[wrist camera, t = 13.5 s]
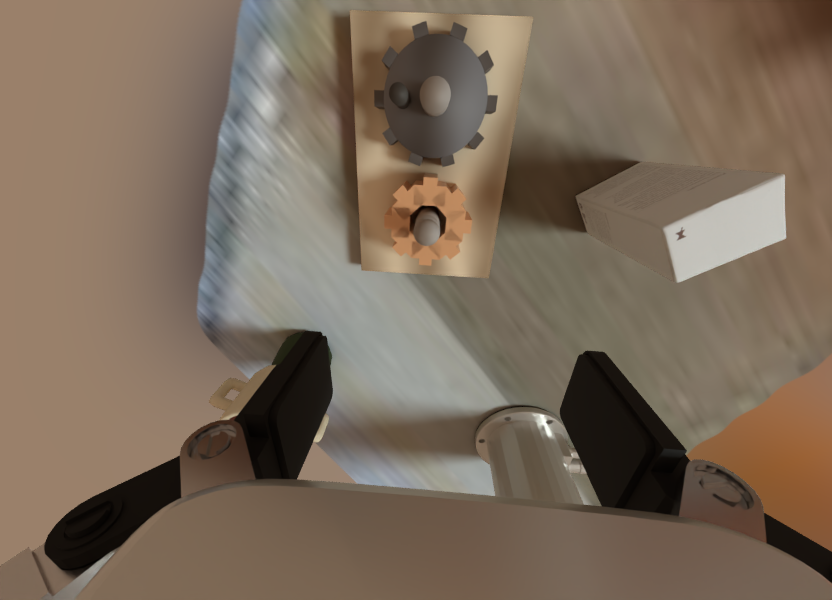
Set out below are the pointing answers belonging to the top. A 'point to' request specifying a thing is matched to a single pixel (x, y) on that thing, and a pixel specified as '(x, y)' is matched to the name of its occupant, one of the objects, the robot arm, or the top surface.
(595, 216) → the skincare box
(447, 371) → the top surface
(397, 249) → the loose gear
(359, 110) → the gear board
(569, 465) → the robot arm
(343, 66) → the top surface
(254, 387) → the character mug
